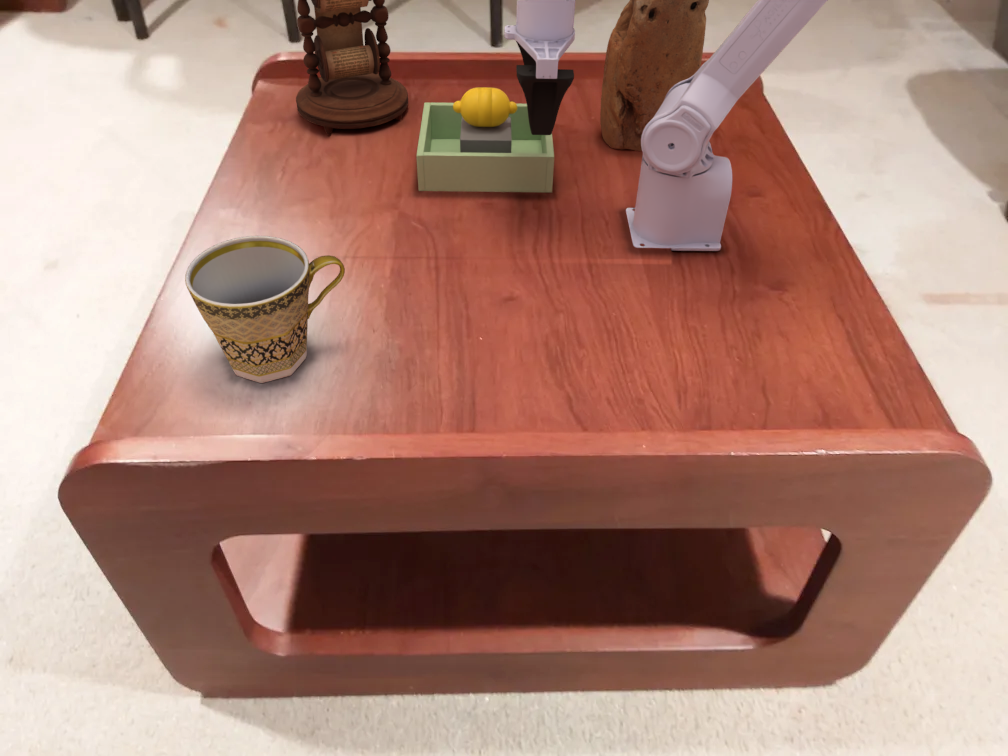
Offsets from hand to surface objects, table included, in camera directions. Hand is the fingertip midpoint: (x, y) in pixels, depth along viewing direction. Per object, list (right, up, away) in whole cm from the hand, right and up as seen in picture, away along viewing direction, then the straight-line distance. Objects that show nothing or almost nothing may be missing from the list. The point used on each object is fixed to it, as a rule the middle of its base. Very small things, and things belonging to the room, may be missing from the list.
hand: (539, 116), depth 88 cm
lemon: (-6, +2, +9) cm, 11 cm away
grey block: (-6, -2, +12) cm, 14 cm away
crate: (-6, -2, +13) cm, 14 cm away
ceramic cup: (-24, -26, -13) cm, 38 cm away
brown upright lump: (+14, +2, +18) cm, 23 cm away
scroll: (-24, +8, +23) cm, 34 cm away
